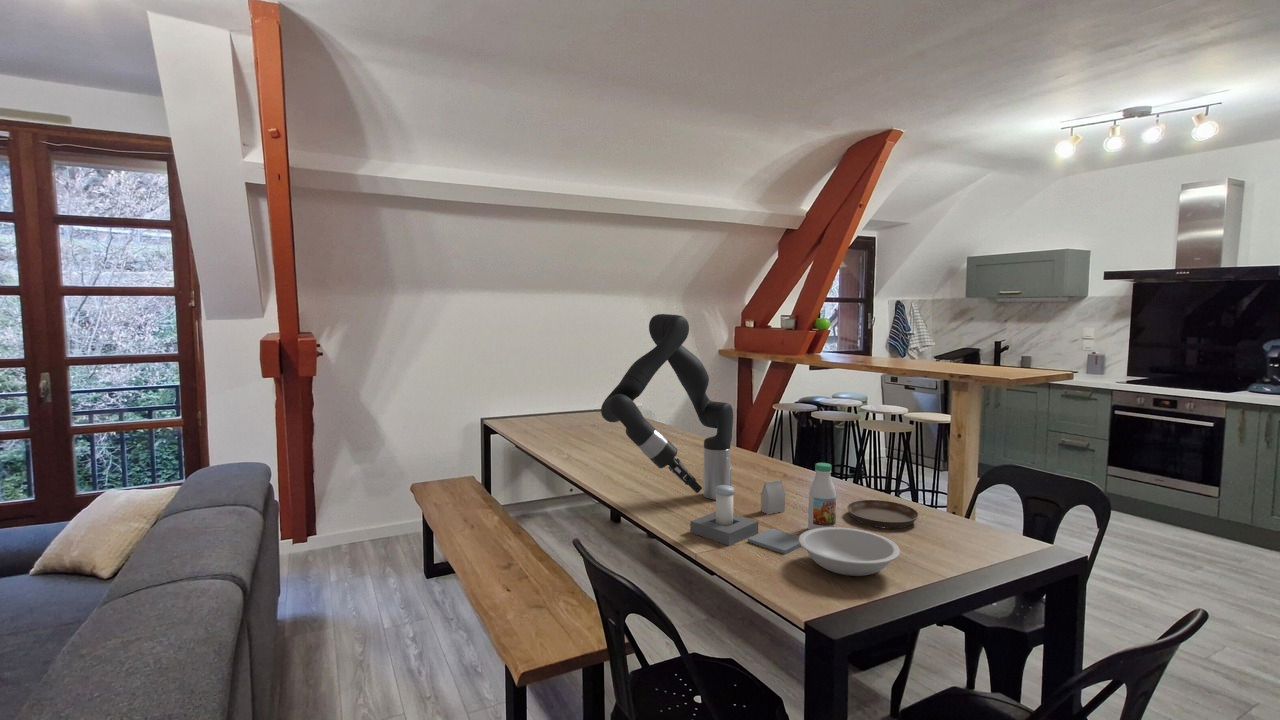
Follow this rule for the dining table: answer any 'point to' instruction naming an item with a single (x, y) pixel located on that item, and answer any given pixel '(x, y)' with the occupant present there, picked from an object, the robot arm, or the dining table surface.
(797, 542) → the mat
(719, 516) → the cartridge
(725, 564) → the dining table surface
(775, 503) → the white paper packet
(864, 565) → the soup bowl
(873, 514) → the plant saucer
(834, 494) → the milk bottle
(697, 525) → the housing
